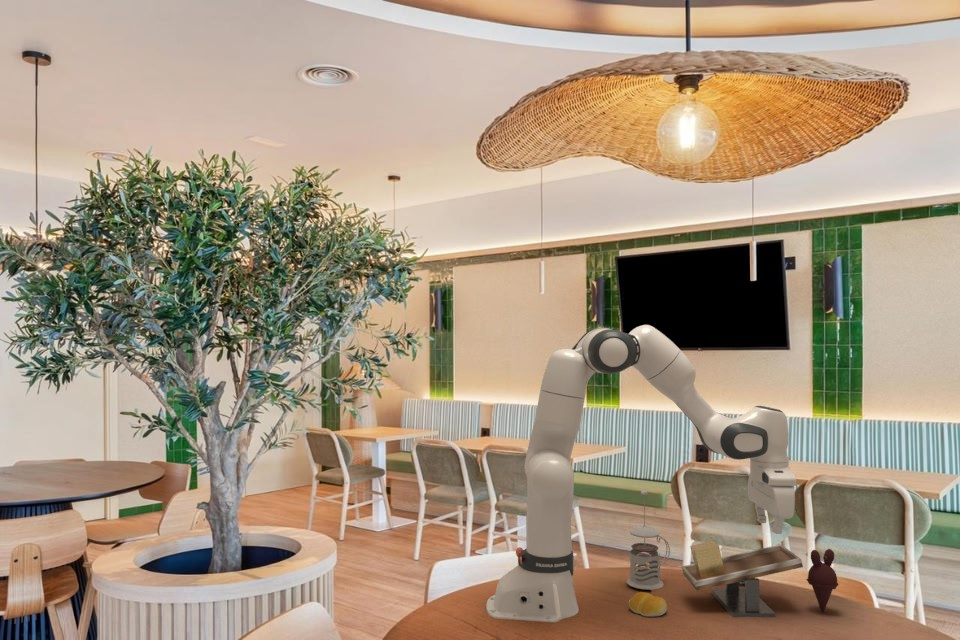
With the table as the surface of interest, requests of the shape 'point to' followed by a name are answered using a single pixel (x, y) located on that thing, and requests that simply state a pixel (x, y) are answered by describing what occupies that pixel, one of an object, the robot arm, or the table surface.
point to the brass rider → (707, 559)
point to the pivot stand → (743, 600)
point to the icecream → (822, 577)
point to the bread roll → (647, 604)
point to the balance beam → (746, 566)
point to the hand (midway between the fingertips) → (769, 527)
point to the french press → (645, 558)
